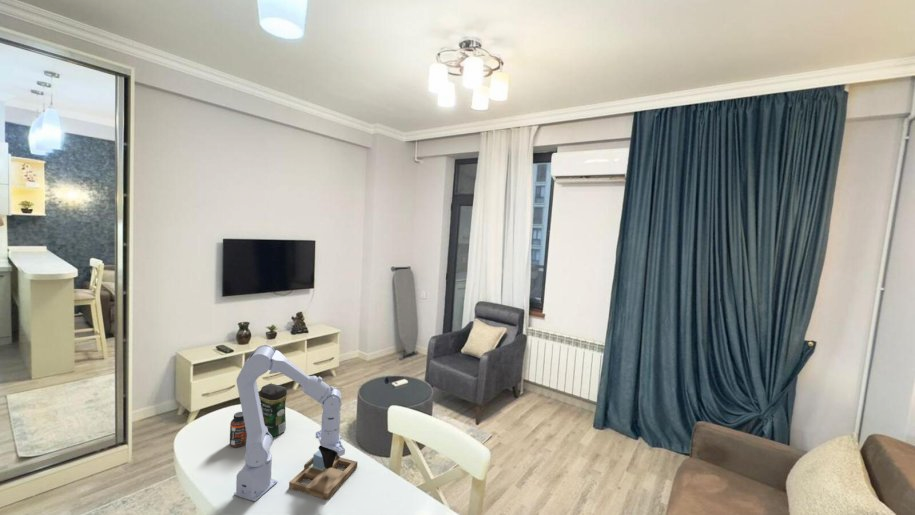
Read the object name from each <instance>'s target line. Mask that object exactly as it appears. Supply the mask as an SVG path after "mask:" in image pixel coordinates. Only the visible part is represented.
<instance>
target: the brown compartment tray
mask: <svg viewBox="0 0 915 515" xmlns="http://www.w3.org/2000/svg"><path fill="white" fill-rule="evenodd" d="M358 464H359V463H358V461H356V460H352V459H349V458H345V457H342V456H338V453H337V455H336V457H335V460H334V463H333V466H332V467H331V468H328V469H326V468H323V469H321V468H318V467H316V466H313V457H311V458H310V459H309V460H308V461H306V462H305V464H303V469H302V471H300V472H299V473H298V474H297V475H296V476H294V477H293V478H292V479H291V480H289V482H288V484H289V485H288V486H289V487H288V489H290V490H294V491H296V492H300V493H304V494H306V495H310V496H313V497H316V498H320V499H324V500H327V501H328V500H329V499H330V498H331V496H332V495H334V493H335V492H337V491H338V489H339V488H340V487H341V486H342V485H343V484H344V483H345V481H346V480H348V478H349V477H350V476H351V475H352V474H353V473H354V471H355V470H356V469H357V468H358ZM338 466H339V467H343V468H345V469H344V470H342V469H338V468H337V467H338ZM346 467H347V468H346ZM352 472H353V473H352ZM304 480H308V481H310V482H309V483H308V484H305V483H303V482H304Z"/></svg>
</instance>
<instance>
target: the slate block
mask: <svg viewBox="0 0 915 515" xmlns="http://www.w3.org/2000/svg"><path fill="white" fill-rule="evenodd" d="M312 458H313V466H316V467H318V468H321V469H323V468H325V466H324V462H323V457H322V454H321V452H320V450H319V449H318V450H317V451H316V452H315V453H313V457H312Z"/></svg>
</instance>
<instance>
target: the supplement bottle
mask: <svg viewBox="0 0 915 515" xmlns="http://www.w3.org/2000/svg"><path fill="white" fill-rule="evenodd" d="M229 424H230V425H229V426H230V427H229V445H230V447H233V448H240V447H243V446H246V439H247V433H246V428H245V422H244V417H243V412H242V411H237V412H235V413H233V418H232V420H230V423H229Z"/></svg>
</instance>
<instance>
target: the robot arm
mask: <svg viewBox="0 0 915 515" xmlns="http://www.w3.org/2000/svg"><path fill="white" fill-rule="evenodd" d="M267 372H269V373H268V375H271V374H272V375H273V374H280V373H281V374H282V375H284V376H285V377H287V378H289V379H290V380H292V381H294V382H295V383H297V384H298V385H300V386H301V390H302V392H303V393H304V394H306V395H307V396H308V397H310V398H312V400H314V401H315V402H317V403H318V404H320V405H321V408H322V414H321V426H320V428H321V430H317V431H315V438H316V439H318V441H319V444H320V445H319V446H318V451H319V450H320V452H321V454H322V457H323V462H324V466H325V468H326V469H328V468H331V467H332V466H333V463H334V460H335V457H336V455H337V453H338V456H340V457H342V456H344V455H345V453H346V448H345V447H344V446H343V444H342V439H343V436H342V435H340V429H341V407H342V393H341V390H340V389H339V388H338V387H336V386H332V385H329V384H327V383H326V382H325V381H323V378H322V377H321V376H316V375H308V374H307V373H305V371H303V370H302V369H300V368H299V367H298V366H297V365H295V363H293V361H290V359H288V358H287V357H286V356H285V355H284V354H283V353H282V352H281V351H279V350H278V349H275V348H274V347H273V346H271V345H270V344H269V345H268V344H262V345H259V346H258V347H256V348H255V349H254V351H252V352H251V354H250V355H249V357H248V358H247V360H245V362H244V363H243V366H242V367H241V369H240V371H239V374H238V376H237V377H236V386H237V391H238V396H239V402H240V408H241V412H243V417H244V422H245V428H246V433H247V439H246V444H245V449H246V450H245V451H246V452H245V455H244V462H245V463H244V465H243V467H242V468H241V470H239V471H238V473H237V474H236V484H235V488H236V489H235V492H233V496H237V497H240V498H242V499H246V500H249V501H252V502H256V501H257V500H259V498H261V497H262V496H263V495H264V494H266V493H267V492H268V491H269V490H270V489H272V488H273V486H275V485H276V484H277V483H278V480H277V479H273V478H272V466H273V465H272V460H273V459H272V458H273V455H272V453H271V447H272V445H273V442H274V436H273V437H272V436H271V434H270V433H269V432H268V428H267V427H266V426H265V424H264V419H263V414H262V408H261V401H260V392H259V388H258V383H257V380H258V379H259V377H261V376H263V375H265V374H266V373H267Z"/></svg>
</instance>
